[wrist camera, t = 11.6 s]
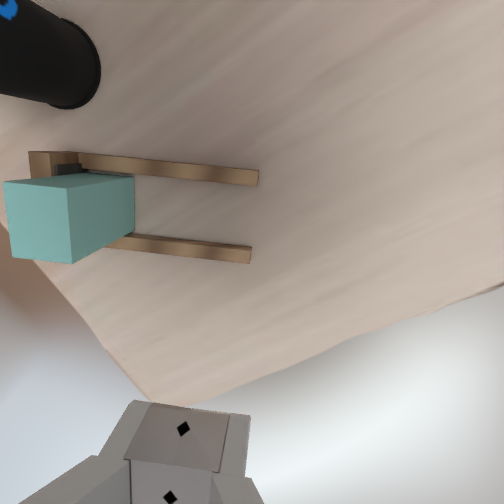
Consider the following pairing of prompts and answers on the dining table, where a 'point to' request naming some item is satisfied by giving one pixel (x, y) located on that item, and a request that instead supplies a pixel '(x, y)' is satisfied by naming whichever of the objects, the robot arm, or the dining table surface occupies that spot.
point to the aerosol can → (45, 57)
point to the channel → (80, 162)
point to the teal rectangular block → (68, 214)
